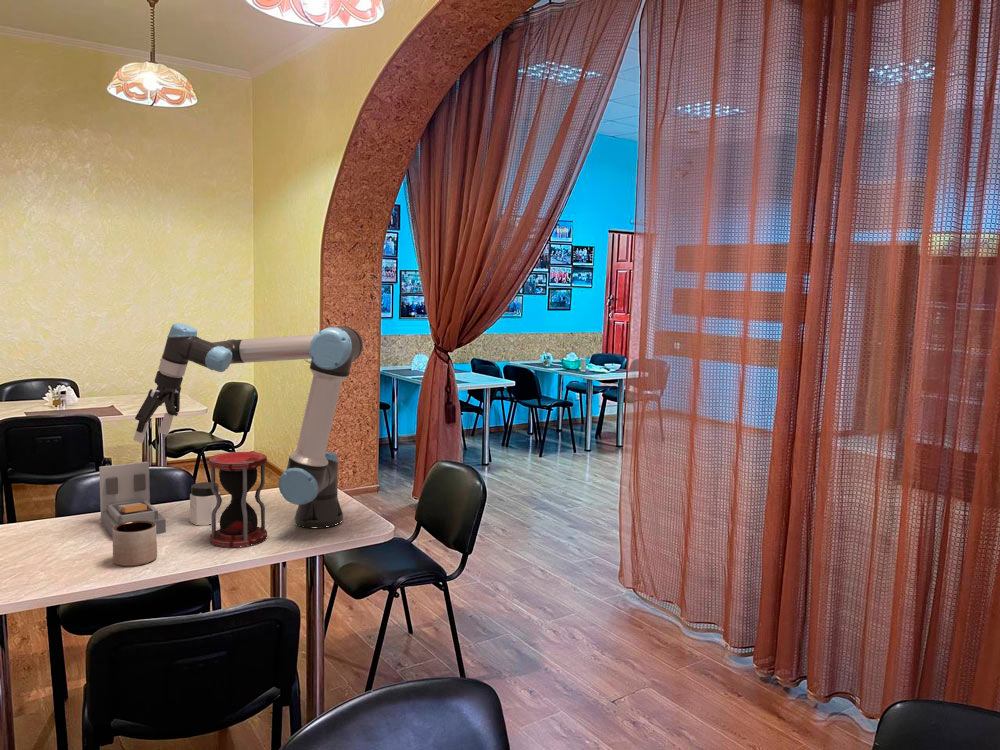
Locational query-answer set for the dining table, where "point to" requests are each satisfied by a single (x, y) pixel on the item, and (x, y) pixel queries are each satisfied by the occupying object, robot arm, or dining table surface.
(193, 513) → the jar
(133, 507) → the rocker switch
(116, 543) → the planter
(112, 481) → the grey fixture stand
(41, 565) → the dining table surface
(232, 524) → the hourglass
